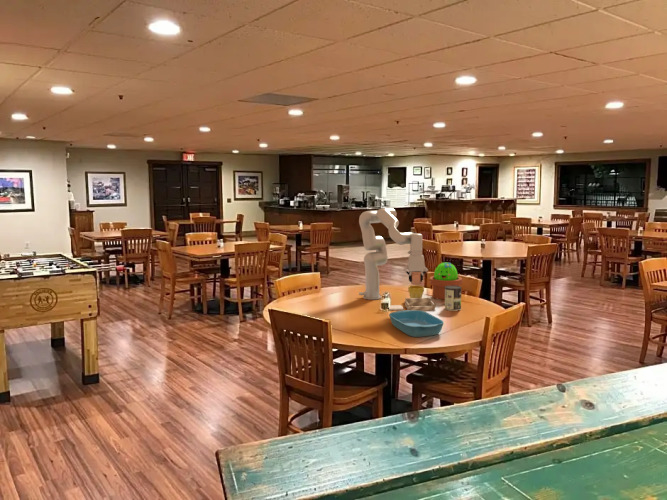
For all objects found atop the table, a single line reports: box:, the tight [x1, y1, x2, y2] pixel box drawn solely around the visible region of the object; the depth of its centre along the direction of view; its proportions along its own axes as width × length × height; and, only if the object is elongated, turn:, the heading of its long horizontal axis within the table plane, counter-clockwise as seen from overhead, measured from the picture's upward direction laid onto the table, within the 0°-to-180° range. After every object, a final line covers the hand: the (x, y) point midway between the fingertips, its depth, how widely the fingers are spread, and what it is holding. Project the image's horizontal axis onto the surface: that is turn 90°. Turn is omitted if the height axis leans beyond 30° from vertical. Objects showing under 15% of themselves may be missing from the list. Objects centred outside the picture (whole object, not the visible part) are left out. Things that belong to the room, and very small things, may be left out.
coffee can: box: [444, 285, 463, 312], centre depth 329 cm, size 10×10×14 cm
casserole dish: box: [388, 309, 445, 338], centre depth 286 cm, size 37×22×7 cm, turn 16°
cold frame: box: [404, 297, 436, 311], centre depth 333 cm, size 17×13×5 cm
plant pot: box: [407, 285, 425, 298], centre depth 352 cm, size 10×10×10 cm
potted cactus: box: [428, 261, 463, 301], centre depth 360 cm, size 22×22×25 cm
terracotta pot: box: [410, 272, 422, 286], centre depth 331 cm, size 7×7×8 cm
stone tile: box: [388, 304, 404, 311], centre depth 333 cm, size 9×9×1 cm
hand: (415, 281), depth 331 cm, fingers closed on terracotta pot, 6 cm apart
